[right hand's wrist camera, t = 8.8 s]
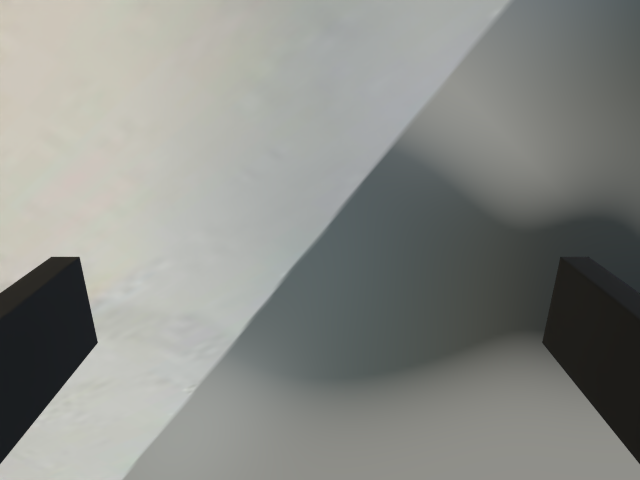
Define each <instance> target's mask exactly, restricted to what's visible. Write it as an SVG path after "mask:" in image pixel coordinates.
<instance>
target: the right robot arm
mask: <svg viewBox="0 0 640 480" xmlns="http://www.w3.org/2000/svg"><path fill="white" fill-rule="evenodd" d="M97 343H98V342H97V337H96V332H95V328H94V323H93V318H92V314H91V309H90V304H89V299H88V295H87V290H86V285H85V281H84V276H83V271H82V267H81V262H80V257H51V258H49V259H48V260H46V261H45V262H44V263H42V264H41V265H39V266H38V267H37V268H35V269H34V270H32V271H31V272H29V273H28V274H27V275H25V276H24V277H22V278H21V279H20V280H18V281H17V282H15V283H14V284H13V285H11V286H10V287H8V288H7V289H6V290H4V291H3V292H1V293H0V464H1V462H2V461H3V460H4V459H5V457H6V456H7V455H8V454H9V452H10V451H11V450H12V449H13V447H14V446H15V445H16V444H17V442H18V441H19V440H20V439H21V438H22V436H23V435H24V434H25V433H26V431H27V430H28V429H29V428H30V426H31V425H32V424H33V423H34V421H35V420H36V419H37V418H38V416H39V415H40V414H41V413H42V411H43V410H44V409H45V408H46V406H47V405H48V404H49V403H50V401H51V400H52V399H53V398H54V396H55V395H56V394H57V393H58V391H59V390H60V389H61V388H62V386H63V385H64V384H65V383H66V382H67V380H68V379H69V378H70V377H71V375H72V374H73V373H74V372H75V370H76V369H77V368H78V367H79V365H80V364H81V363H82V362H83V360H84V359H85V358H86V357H87V355H88V354H89V353H90V352H91V350H92V349H93V348H94V347H95V345H96V344H97ZM542 343H543V344H544V345H545V347H546V348H547V349H548V350H549V352H550V353H551V354H552V355H553V357H554V358H555V359H556V360H557V362H558V363H559V364H560V365H561V367H562V368H563V369H564V370H565V372H566V373H567V374H568V375H569V377H570V378H571V379H572V380H573V382H574V383H575V384H576V385H577V386H578V388H579V389H580V390H581V391H582V393H583V394H584V395H585V396H586V398H587V399H588V400H589V401H590V403H591V404H592V405H593V406H594V408H595V409H596V410H597V411H598V413H599V414H600V415H601V416H602V418H603V419H604V420H605V421H606V423H607V424H608V425H609V426H610V428H611V429H612V430H613V431H614V433H615V434H616V435H617V436H618V438H619V439H620V440H621V441H622V442H623V444H624V445H625V446H626V447H627V449H628V450H629V451H630V452H631V454H632V455H633V456H634V457H635V459H636V460H637V461H638V462H639V464H640V293H639V292H637V291H636V290H634V289H633V288H632V287H630V286H629V285H627V284H626V283H625V282H623V281H622V280H620V279H619V278H618V277H616V276H615V275H613V274H612V273H611V272H609V271H608V270H606V269H605V268H603V267H602V266H601V265H599V264H598V263H596V262H595V261H594V260H592V259H591V258H589V257H560V262H559V267H558V271H557V276H556V281H555V285H554V290H553V295H552V299H551V304H550V309H549V314H548V318H547V323H546V328H545V332H544V337H543V342H542Z"/></svg>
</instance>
